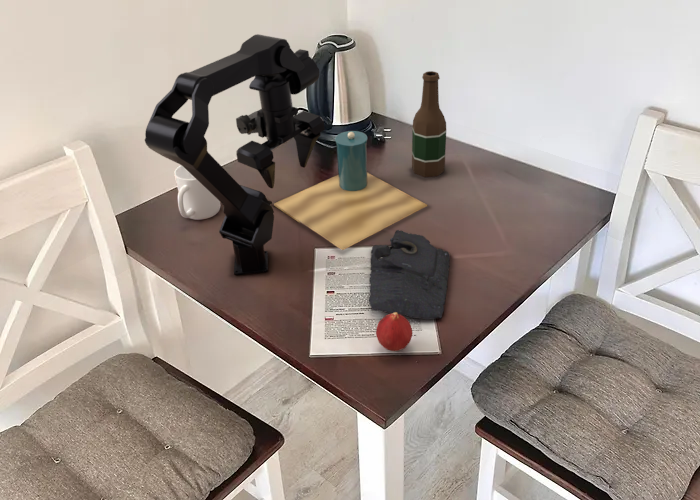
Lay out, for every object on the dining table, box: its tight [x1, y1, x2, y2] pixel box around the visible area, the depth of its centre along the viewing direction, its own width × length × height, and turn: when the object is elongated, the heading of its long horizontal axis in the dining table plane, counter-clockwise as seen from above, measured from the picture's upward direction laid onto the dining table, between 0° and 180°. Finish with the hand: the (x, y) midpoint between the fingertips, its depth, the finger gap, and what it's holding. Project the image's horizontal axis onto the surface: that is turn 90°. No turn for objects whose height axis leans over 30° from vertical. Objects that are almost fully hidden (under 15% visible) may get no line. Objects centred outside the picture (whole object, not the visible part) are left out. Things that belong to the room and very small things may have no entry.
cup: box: [173, 164, 221, 221], centre depth 141 cm, size 8×12×10 cm
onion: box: [375, 312, 413, 352], centre depth 106 cm, size 6×6×8 cm
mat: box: [273, 172, 428, 251], centre depth 144 cm, size 24×24×1 cm
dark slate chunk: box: [368, 229, 451, 320], centre depth 121 cm, size 15×22×5 cm
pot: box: [334, 130, 368, 191], centre depth 147 cm, size 7×7×13 cm
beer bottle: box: [411, 70, 447, 178], centre depth 148 cm, size 8×8×24 cm
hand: (287, 177), depth 131 cm, fingers open, 9 cm apart
